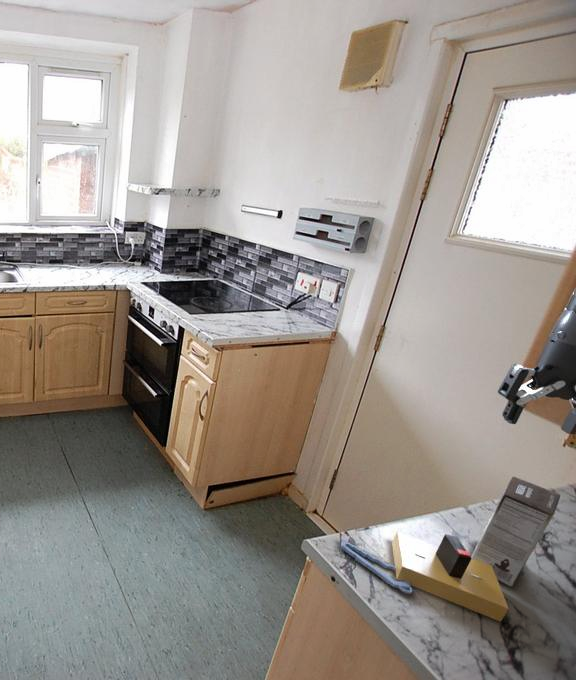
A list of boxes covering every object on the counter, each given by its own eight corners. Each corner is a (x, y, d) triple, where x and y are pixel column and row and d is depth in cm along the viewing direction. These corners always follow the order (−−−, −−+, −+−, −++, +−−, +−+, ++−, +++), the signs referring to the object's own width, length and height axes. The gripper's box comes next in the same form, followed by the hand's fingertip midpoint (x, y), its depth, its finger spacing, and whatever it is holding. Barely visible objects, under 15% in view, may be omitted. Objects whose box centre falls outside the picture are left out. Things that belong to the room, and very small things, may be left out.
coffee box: (477, 542, 89) (512, 474, 84) (521, 564, 85) (561, 493, 79) (466, 564, 84) (503, 493, 78) (513, 589, 79) (555, 515, 73)
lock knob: (435, 553, 81) (445, 532, 79) (447, 556, 81) (457, 535, 79) (449, 575, 77) (460, 554, 75) (461, 578, 76) (472, 557, 75)
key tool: (349, 540, 87) (335, 547, 85) (351, 536, 87) (337, 543, 84) (419, 589, 78) (405, 598, 75) (421, 584, 78) (408, 594, 75)
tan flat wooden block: (485, 578, 81) (492, 565, 80) (500, 622, 72) (509, 607, 71) (391, 543, 87) (397, 530, 86) (396, 579, 79) (402, 565, 78)
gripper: (616, 340, 76) (570, 425, 82) (516, 326, 79) (478, 408, 85) (657, 356, 69) (604, 447, 75) (545, 340, 73) (502, 428, 78)
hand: (537, 426), depth 80 cm, fingers open, 8 cm apart
